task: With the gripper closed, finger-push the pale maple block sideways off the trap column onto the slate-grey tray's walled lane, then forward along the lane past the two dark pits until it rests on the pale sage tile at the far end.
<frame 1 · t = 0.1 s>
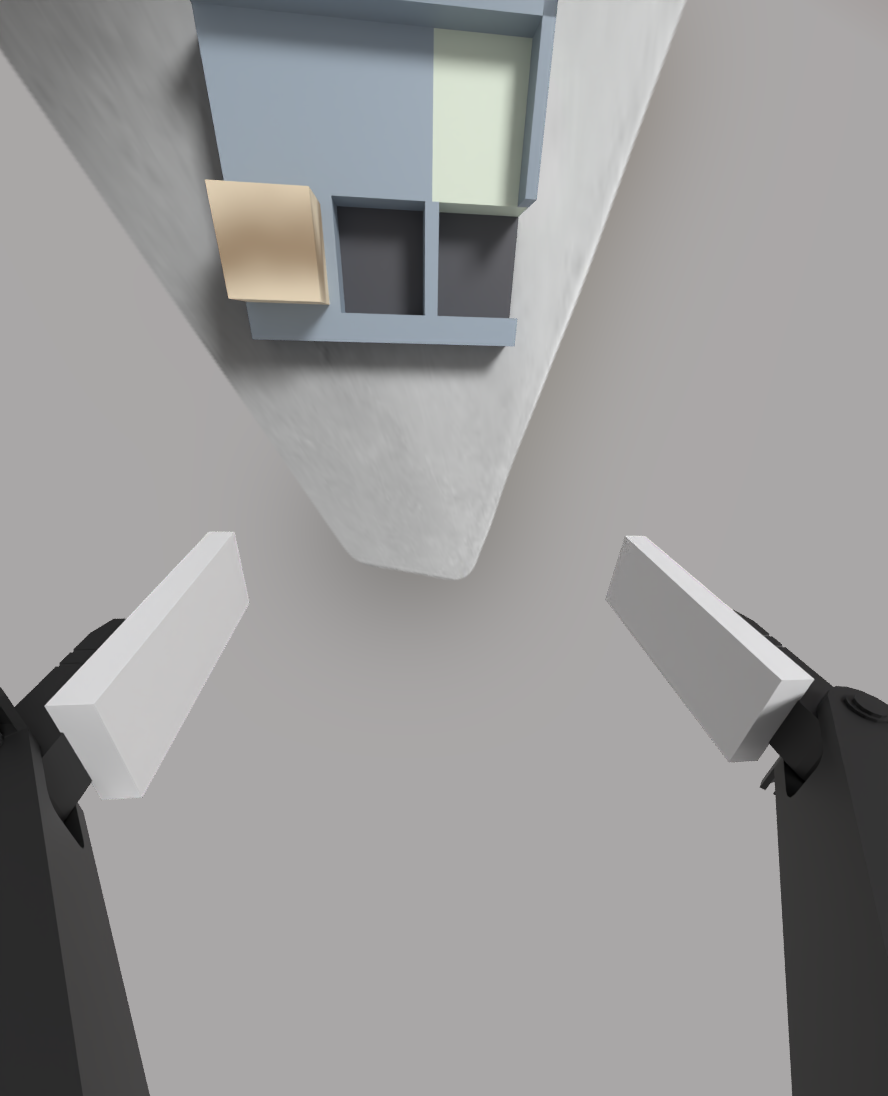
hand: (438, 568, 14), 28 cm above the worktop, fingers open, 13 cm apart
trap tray: (383, 209, 30), on the worktop
block: (282, 254, 29), point 3 cm above the worktop, touching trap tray
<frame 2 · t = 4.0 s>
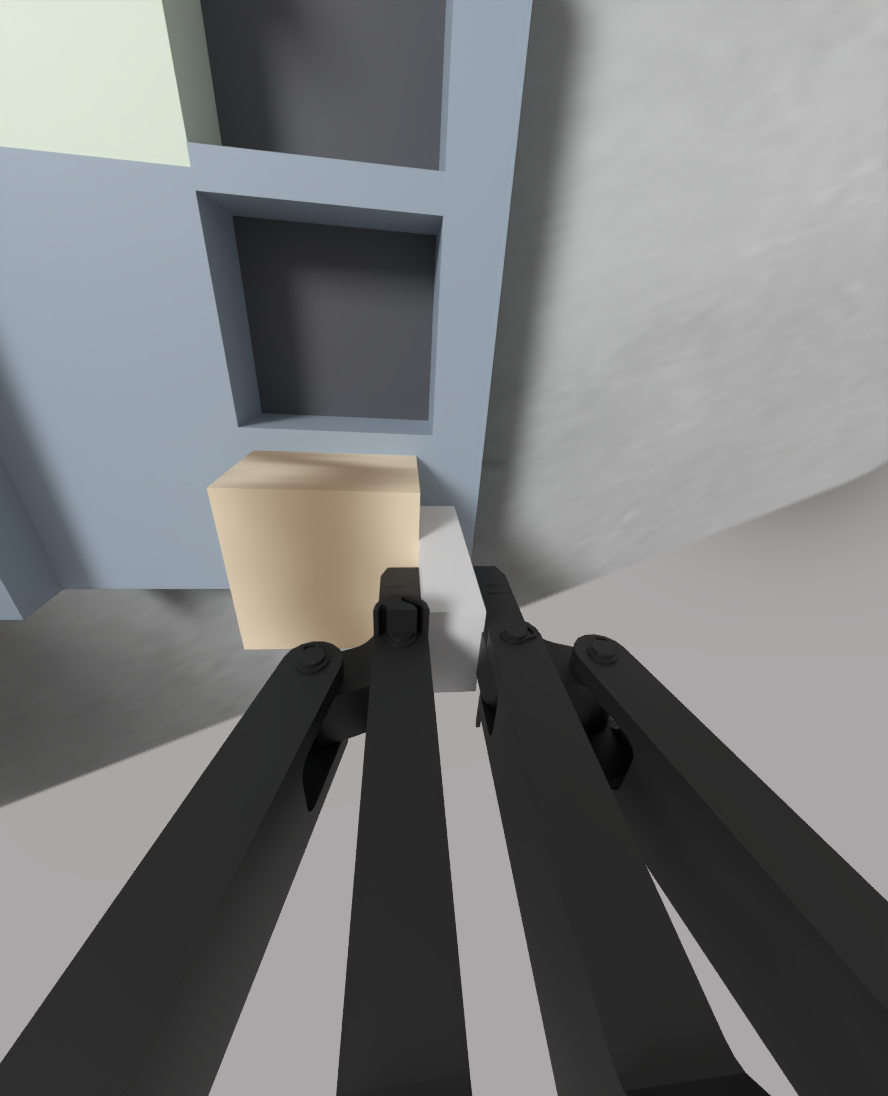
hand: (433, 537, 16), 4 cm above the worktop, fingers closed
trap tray: (249, 316, 15), on the worktop
block: (341, 525, 16), point 3 cm above the worktop, touching gripper, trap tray
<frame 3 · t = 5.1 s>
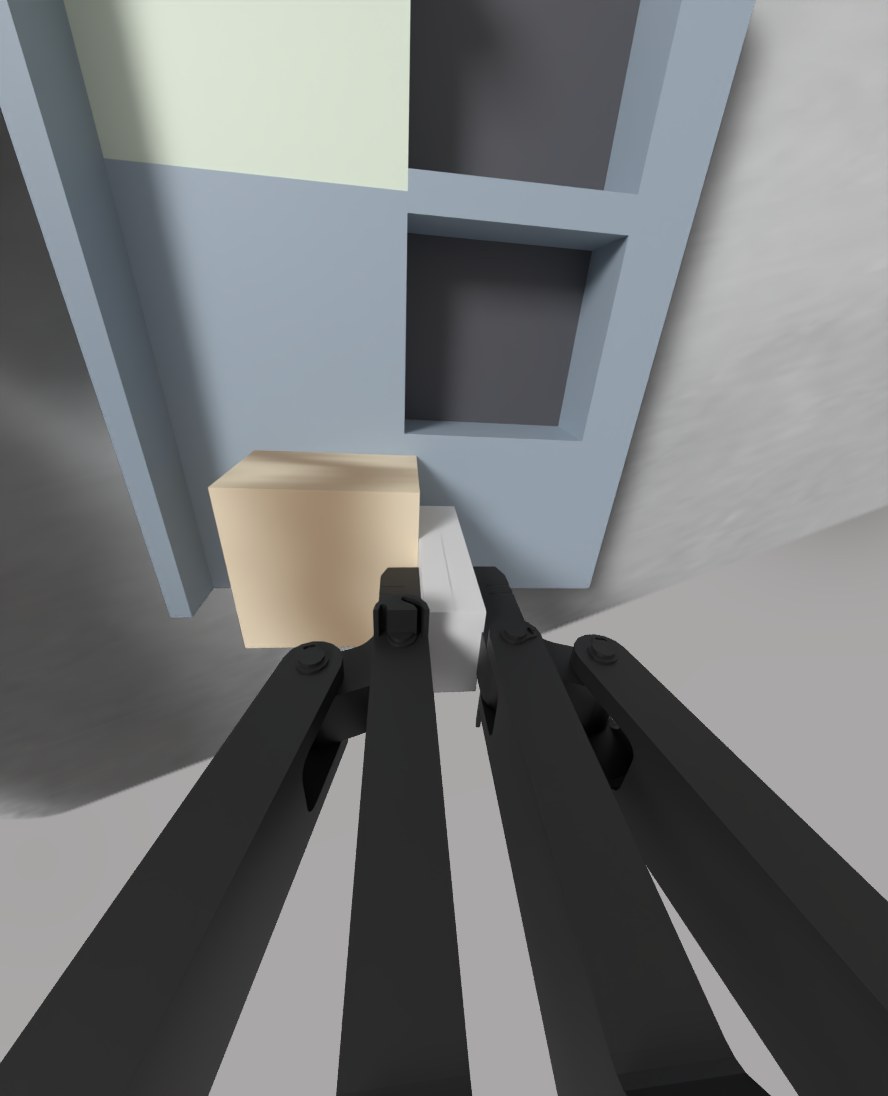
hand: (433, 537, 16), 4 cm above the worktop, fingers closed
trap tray: (405, 327, 16), on the worktop
block: (342, 524, 17), point 3 cm above the worktop, touching gripper, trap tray
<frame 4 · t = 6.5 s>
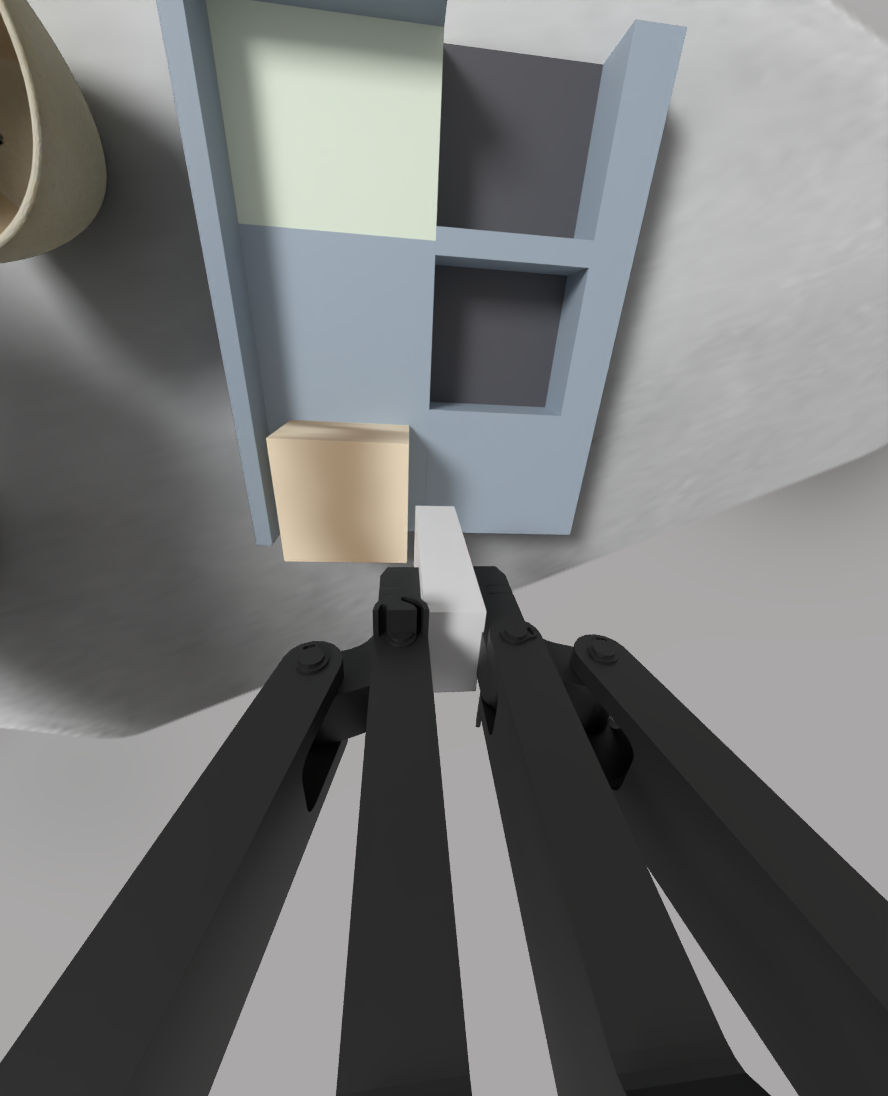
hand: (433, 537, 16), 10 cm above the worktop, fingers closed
flower pot: (44, 149, 17), on the worktop
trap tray: (429, 332, 21), on the worktop
block: (353, 478, 22), point 3 cm above the worktop, touching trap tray
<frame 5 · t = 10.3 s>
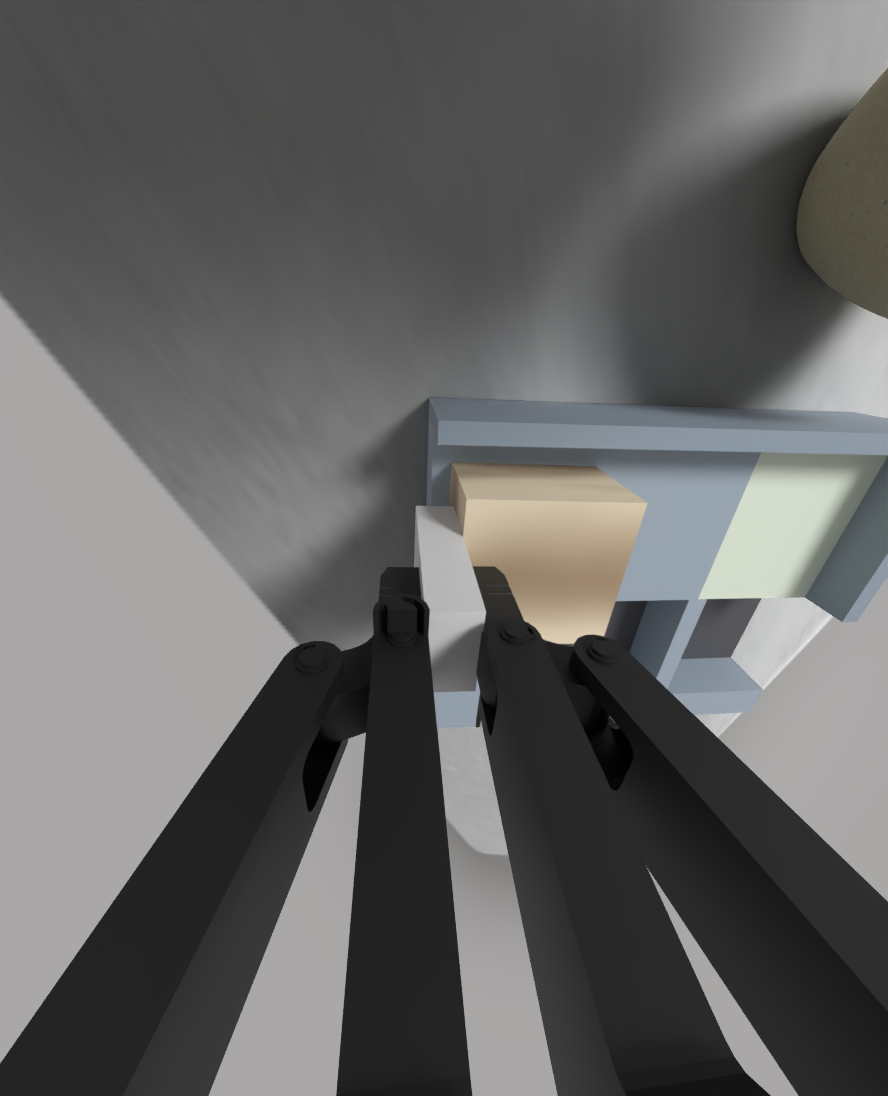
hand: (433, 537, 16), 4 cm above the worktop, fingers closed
flower pot: (856, 194, 16), on the worktop
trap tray: (607, 569, 23), on the worktop
block: (514, 530, 18), point 3 cm above the worktop, touching gripper
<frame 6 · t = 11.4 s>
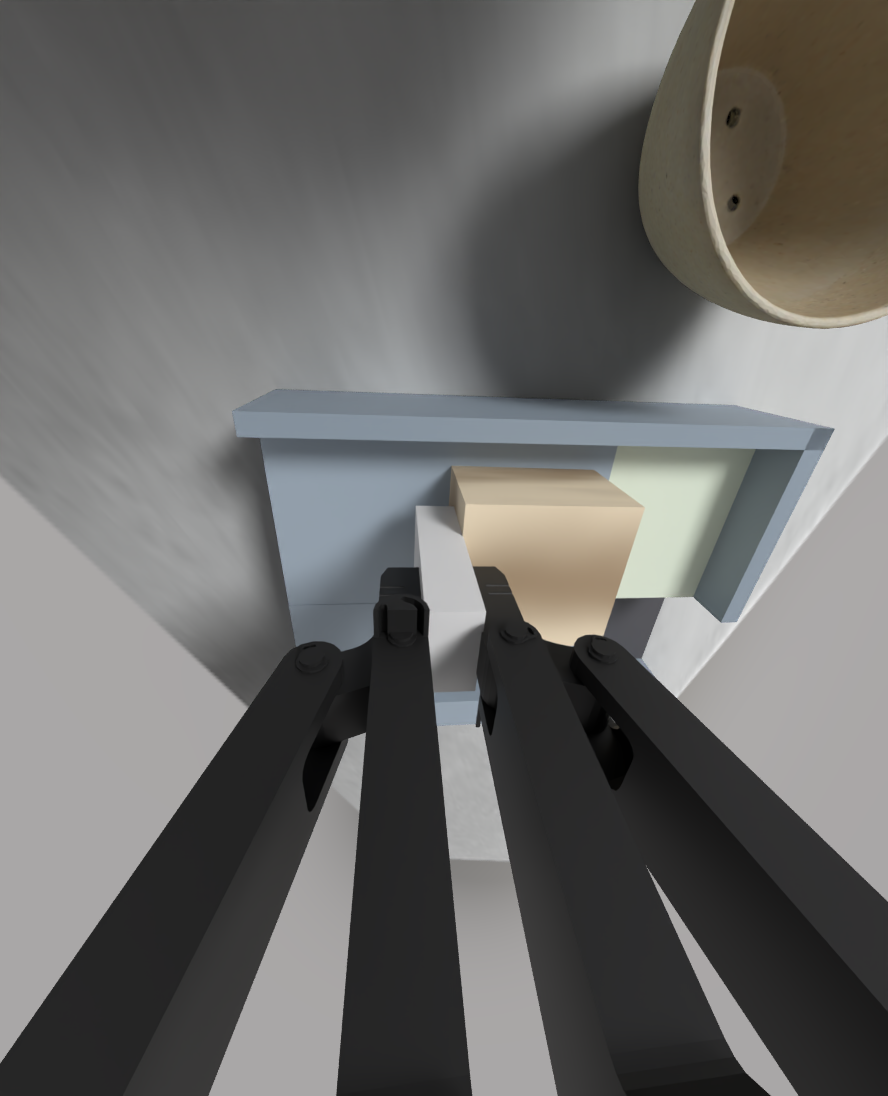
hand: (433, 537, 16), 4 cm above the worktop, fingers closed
flower pot: (704, 175, 15), on the worktop
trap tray: (497, 568, 22), on the worktop
block: (513, 533, 18), point 3 cm above the worktop, touching gripper
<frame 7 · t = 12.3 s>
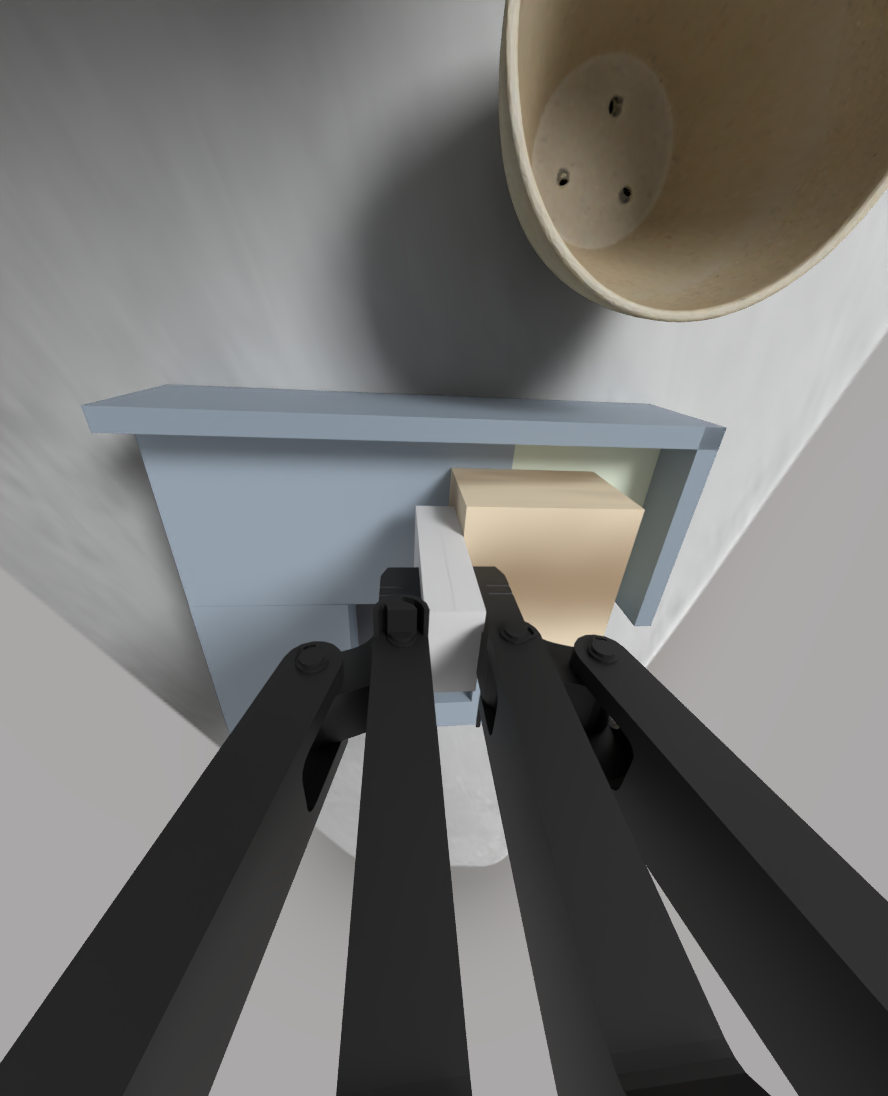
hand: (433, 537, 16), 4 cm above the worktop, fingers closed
flower pot: (595, 166, 14), on the worktop
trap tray: (419, 570, 22), on the worktop
block: (513, 534, 18), point 3 cm above the worktop, touching gripper, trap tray
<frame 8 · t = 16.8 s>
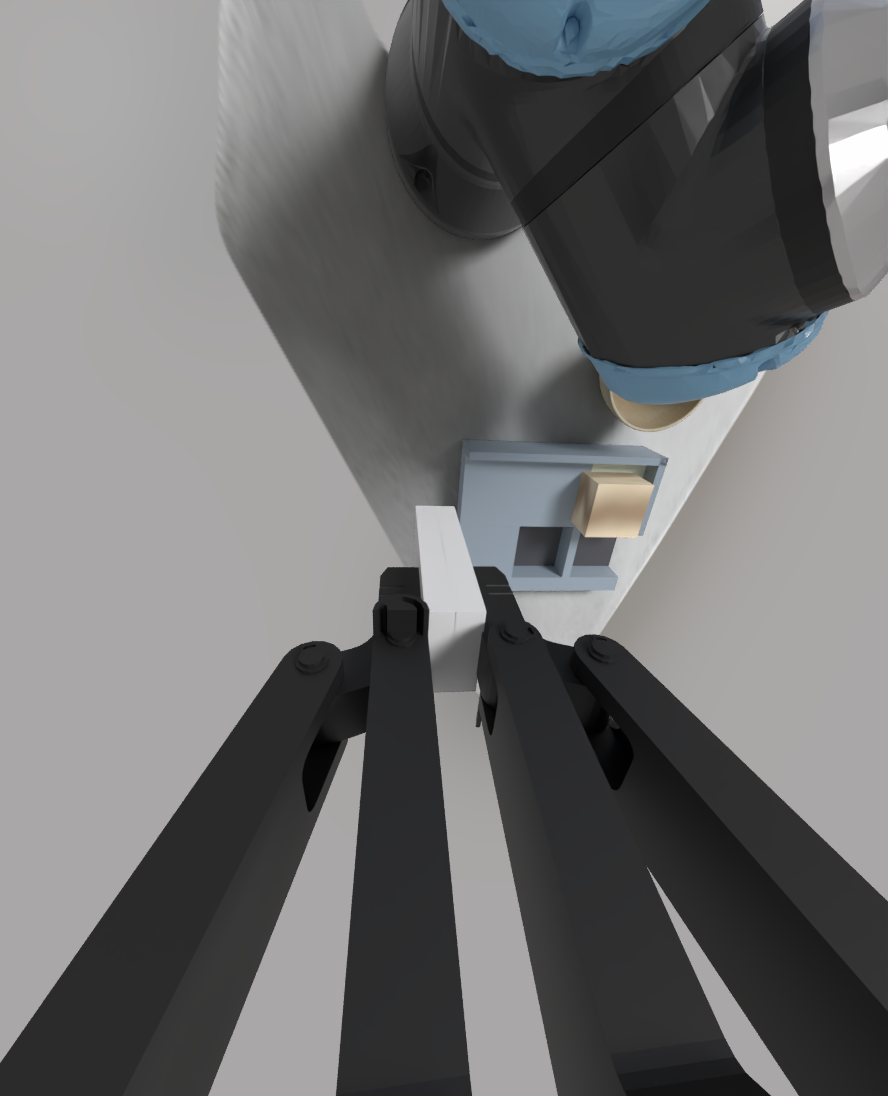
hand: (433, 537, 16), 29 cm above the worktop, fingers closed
flower pot: (624, 367, 42), on the worktop
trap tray: (541, 516, 49), on the worktop
block: (601, 497, 45), point 3 cm above the worktop, touching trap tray
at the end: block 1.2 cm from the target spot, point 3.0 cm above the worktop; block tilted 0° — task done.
